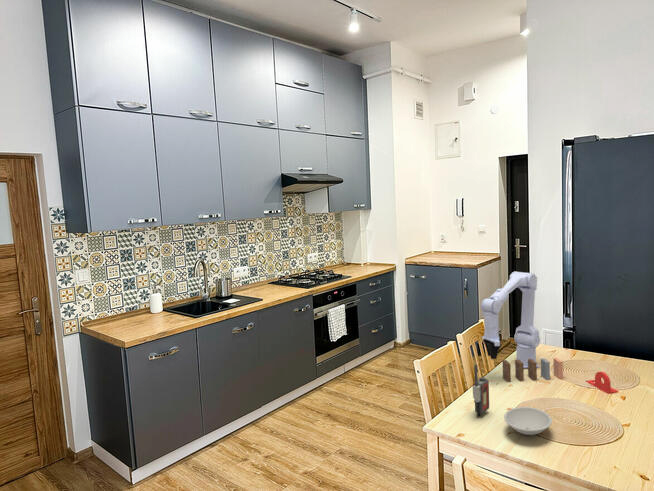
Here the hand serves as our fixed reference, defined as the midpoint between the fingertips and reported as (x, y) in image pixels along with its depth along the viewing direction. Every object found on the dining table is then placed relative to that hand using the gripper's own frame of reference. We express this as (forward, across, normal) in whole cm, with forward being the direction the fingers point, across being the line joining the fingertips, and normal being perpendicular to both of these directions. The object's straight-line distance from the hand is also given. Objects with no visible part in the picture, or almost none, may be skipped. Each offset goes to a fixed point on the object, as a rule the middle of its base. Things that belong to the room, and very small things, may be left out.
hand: (492, 357), depth 192 cm
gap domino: (+10, 0, +22) cm, 25 cm away
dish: (+11, +44, -3) cm, 45 cm away
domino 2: (+10, 0, +17) cm, 20 cm away
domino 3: (+10, 0, +28) cm, 30 cm away
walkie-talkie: (+11, +30, -15) cm, 35 cm away
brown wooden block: (+10, 0, +6) cm, 12 cm away
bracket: (+11, +12, +39) cm, 43 cm away
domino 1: (+10, 0, +12) cm, 16 cm away
